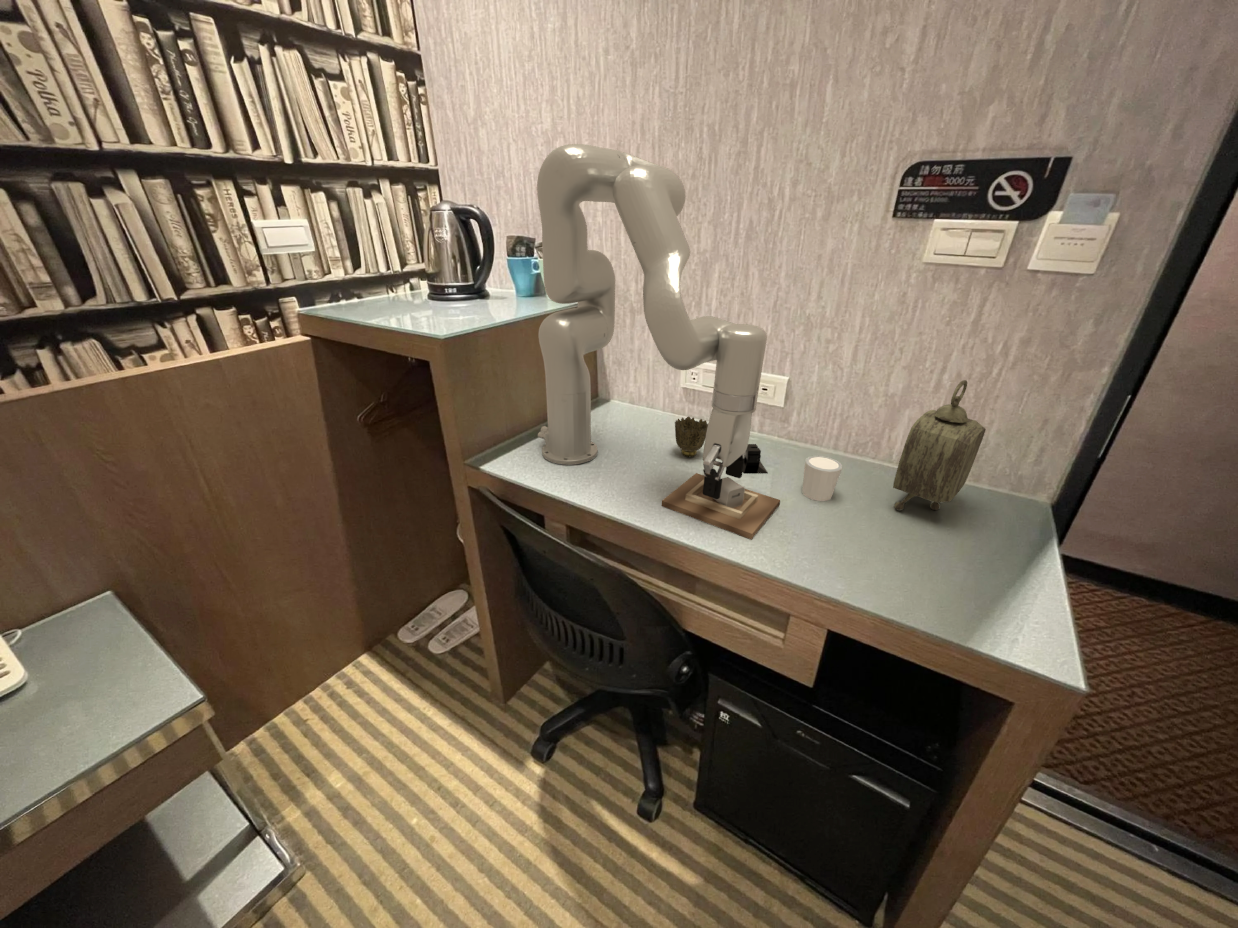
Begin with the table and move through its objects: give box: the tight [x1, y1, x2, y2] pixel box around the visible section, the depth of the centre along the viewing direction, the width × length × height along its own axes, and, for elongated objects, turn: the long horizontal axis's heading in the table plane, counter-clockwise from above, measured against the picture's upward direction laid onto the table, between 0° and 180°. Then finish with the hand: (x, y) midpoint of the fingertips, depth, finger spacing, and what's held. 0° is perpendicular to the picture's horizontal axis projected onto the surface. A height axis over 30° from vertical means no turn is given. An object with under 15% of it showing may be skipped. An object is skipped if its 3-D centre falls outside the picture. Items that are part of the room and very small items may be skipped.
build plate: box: [742, 443, 769, 475], centre depth 112 cm, size 12×7×5 cm, turn 4°
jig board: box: [661, 472, 781, 540], centre depth 96 cm, size 18×14×2 cm
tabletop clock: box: [892, 379, 986, 511], centre depth 93 cm, size 14×9×25 cm, turn 135°
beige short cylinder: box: [801, 455, 843, 502], centre depth 100 cm, size 7×7×7 cm
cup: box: [674, 416, 708, 458], centre depth 114 cm, size 8×7×8 cm
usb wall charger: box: [713, 476, 746, 508], centre depth 96 cm, size 4×7×4 cm, turn 29°
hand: (722, 485), depth 95 cm, fingers open, 9 cm apart
